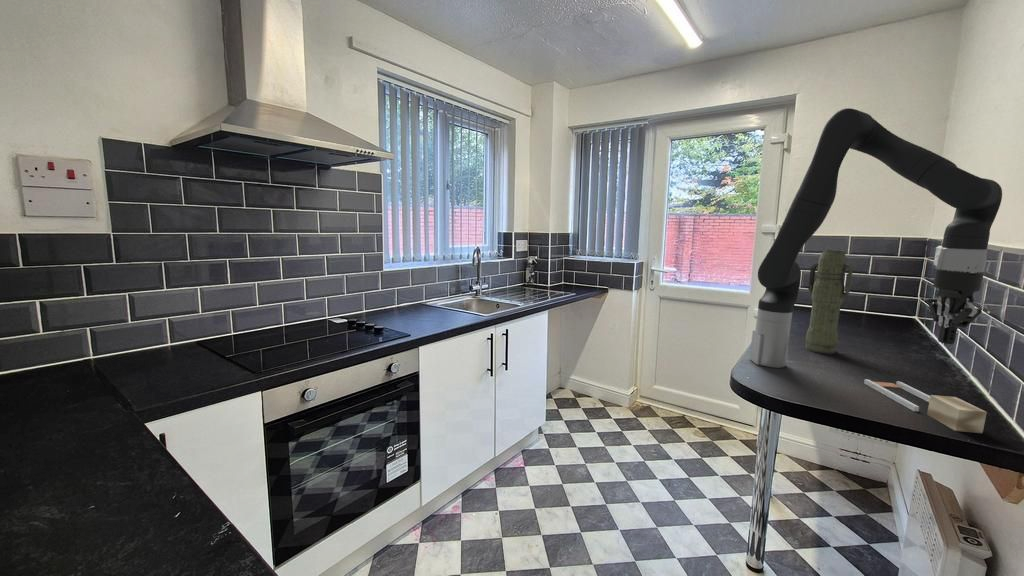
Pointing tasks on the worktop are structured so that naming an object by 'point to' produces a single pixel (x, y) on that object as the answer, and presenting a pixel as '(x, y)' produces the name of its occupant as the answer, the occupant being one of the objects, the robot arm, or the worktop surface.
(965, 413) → the beech block
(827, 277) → the thermos
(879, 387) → the channel
